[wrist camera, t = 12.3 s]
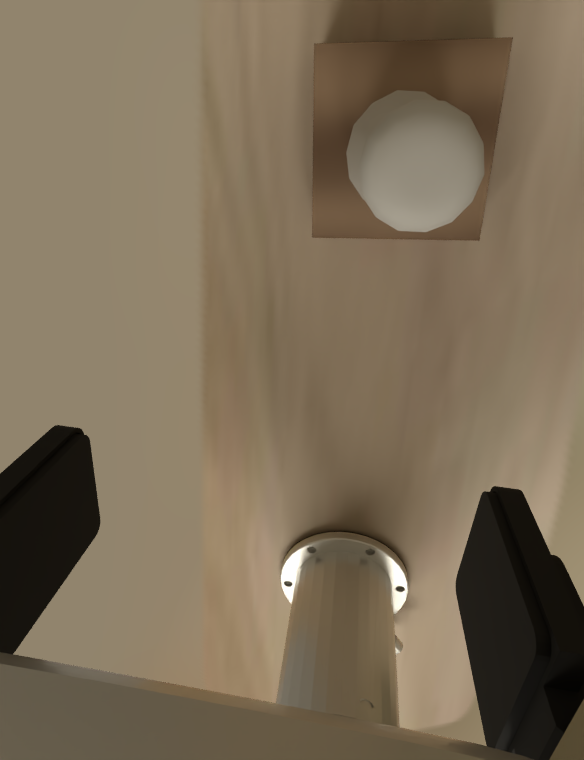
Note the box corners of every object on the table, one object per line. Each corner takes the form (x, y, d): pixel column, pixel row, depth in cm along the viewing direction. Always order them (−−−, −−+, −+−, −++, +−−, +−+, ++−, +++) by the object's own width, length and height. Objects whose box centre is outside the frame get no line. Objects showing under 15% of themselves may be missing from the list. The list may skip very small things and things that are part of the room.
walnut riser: (467, 228, 33) (479, 240, 29) (317, 225, 34) (312, 237, 30) (494, 48, 28) (512, 37, 25) (320, 53, 29) (314, 43, 26)
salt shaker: (328, 139, 28) (301, 148, 16) (418, 67, 26) (459, 19, 14) (383, 226, 29) (393, 290, 18) (472, 165, 27) (547, 194, 16)
